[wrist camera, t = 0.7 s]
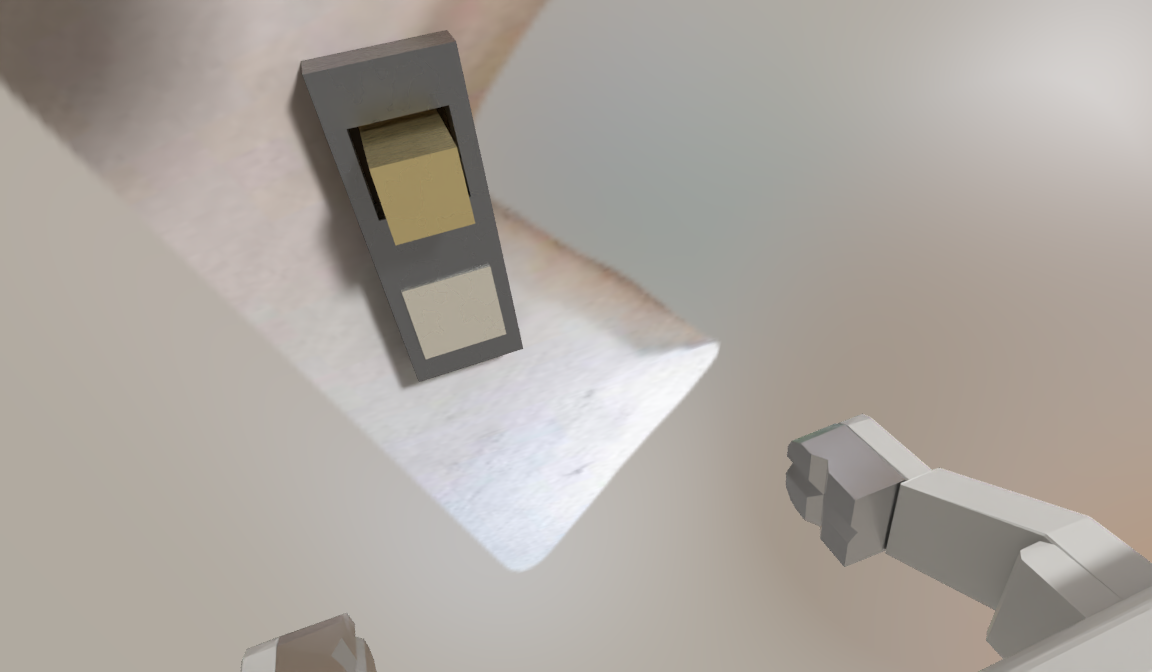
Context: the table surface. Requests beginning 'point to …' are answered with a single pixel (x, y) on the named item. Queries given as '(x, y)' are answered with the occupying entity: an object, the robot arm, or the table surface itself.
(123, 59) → the table surface
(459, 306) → the plate
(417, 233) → the tan block
